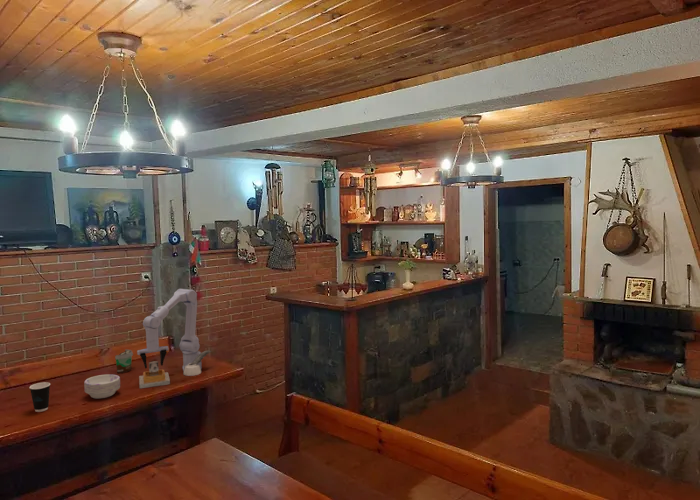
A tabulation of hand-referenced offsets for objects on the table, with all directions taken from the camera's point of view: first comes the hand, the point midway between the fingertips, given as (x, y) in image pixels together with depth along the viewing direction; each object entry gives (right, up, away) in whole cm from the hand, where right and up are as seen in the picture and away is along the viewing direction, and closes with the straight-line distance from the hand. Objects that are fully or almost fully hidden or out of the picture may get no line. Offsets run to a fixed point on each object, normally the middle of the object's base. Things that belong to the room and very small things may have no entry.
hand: (153, 366), depth 256 cm
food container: (-22, -7, +20) cm, 31 cm away
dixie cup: (-36, -12, -33) cm, 51 cm away
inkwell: (+18, -7, +17) cm, 26 cm away
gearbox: (0, -8, +1) cm, 8 cm away
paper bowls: (-18, -10, -17) cm, 26 cm away
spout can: (+1, -6, 0) cm, 6 cm away
